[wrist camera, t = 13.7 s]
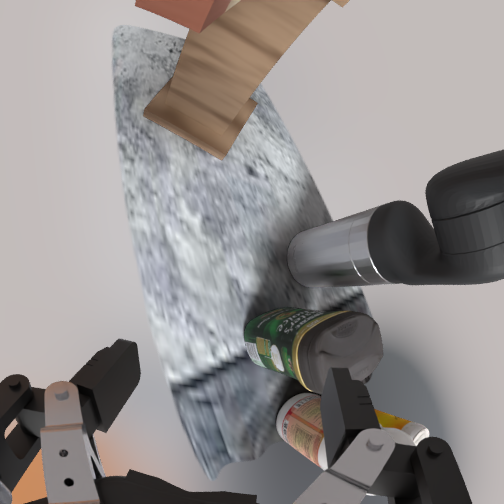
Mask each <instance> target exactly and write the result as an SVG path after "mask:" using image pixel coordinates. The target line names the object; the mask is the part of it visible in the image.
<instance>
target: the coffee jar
mask: <svg viewBox="0 0 504 504" xmlns="http://www.w3.org/2000/svg"><path fill="white" fill-rule="evenodd" d="M244 339H245V345H246V349H247V352H248V354H249V356H250V358H251V360H252V361H253V362H254V363H255V364H257V365H259V366H262V367H264V368H267V369H270V370H273V371H276V372H279V373H281V374H284V375H287V376H289V377H292V378H295V379H297V380H299V382H300V383H301V384H302V386H304V387H305V388H306V389H308V390H309V391H312V392H315V393H319V394H322V392H323V388H324V384H325V380H326V377H327V373H328V370H329V368H330V367H334V368H348V369H349V372H350V375H351V378H352V380H360V381H362V380H363V379H365V378H366V377H367V376H368V375H370V374H371V373H372V372H373V371H374V370H375V368H376V367H377V365H378V364H379V362H380V360H381V358H382V357H383V345H382V339H381V334H380V330H379V326H378V324H377V323H376V322H375V321H374V319H373V318H371V317H370V316H369V315H367V314H364V313H358V312H353V311H331V312H328V311H315V310H305V309H299V308H290V307H284V308H279V309H275V310H272V311H269V312H266V313H264V314H262V315H260V316H258V317H256V318H254V319H252V320H251V321H250V322H249V323H248V324H247V326H246V328H245V332H244Z"/></svg>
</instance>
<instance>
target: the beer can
mask: <svg viewBox="0 0 504 504" xmlns="http://www.w3.org/2000/svg"><path fill="white" fill-rule="evenodd" d="M374 410H375V413H376V415H377V418H378V421H379V423H380V424H381V425H382V427H384V428H396V429H399V430H401V431H404V432H405V433H407V434H408V435H409V436H410V437H411V438H412V440H413V442H414V444H415V445H416V446H417V445H418V443H419V442H420V441H421V440H422V439H424V438H427V437H429V430H428V429H426V428H425V426H423V425H421V424H418V423H414V422H411V421H408V420H405V419H402V418H399V417H396V416H393V415H390V414H387V413H384V412H381V411H378V410H376V409H374Z"/></svg>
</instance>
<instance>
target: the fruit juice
mask: <svg viewBox="0 0 504 504" xmlns="http://www.w3.org/2000/svg"><path fill="white" fill-rule="evenodd" d="M320 401H321V396H319V395H316V394H312V393H301V394H298V395H296V396H294V397H292V398H290V399H289V400H288V401H287V402H286V403H285V404H284V405H283V406H282V408H281V409H280V411H279V413H278V416H277V420H276V427H277V431H278V433H279V435H280V436H281V437H282V439H283V440H284V441H286V442H287V443H288V444H290V445H291V446H292V447H293V448H295V449H296V450H297V451H299V452H300V453H302V454H303V455H304V456H305V457H307V458H308V459H310V460H311V461H312V462H314V463H315V464H316V465H318V466H319V467H321V468H322V469H323V470H326V469H328V466H327V457H326V449H325V441H324V433H323V426H322V418H321V411H320ZM379 424H380V423H379ZM380 427H381V430H384V431H386V432H387V433H389V434H390V435H391V436H392V437H393V439H394V441H395V443H398V444H404V445H411V446H416V445H415V444H414V442H413V440H412V438H411V437H410V436H409V435H408V434H407V433H405V432H404V431H401V430H399V429H396V428H384V427H382V425H381V424H380ZM366 495H373V494H366Z"/></svg>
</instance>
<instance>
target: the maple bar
mask: <svg viewBox="0 0 504 504" xmlns="http://www.w3.org/2000/svg"><path fill="white" fill-rule="evenodd" d="M239 1H241V0H136V3H135V6H137V7H139V8H142V9H145V10H147V11H150V12H152V13H155V14H157V15H160V16H162V17H164V18H167V19H169V20H172V21H174V22H176V23H178V24H180V25H182V26H185V27H187V28H189V29H191V30H193V31H195V32H197V33H201V32H202V31H203V30H204V29H205V28H206V27H208V26H209V25H210V24H211V23H212V22H214V21H215V20H216V19H217V18H219V17H220V16H221V15H222V14H224V13H225V12H226V11H227V10H229V9H230V8H231V7H233V6H234V5H235V4H237V3H238V2H239Z"/></svg>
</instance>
